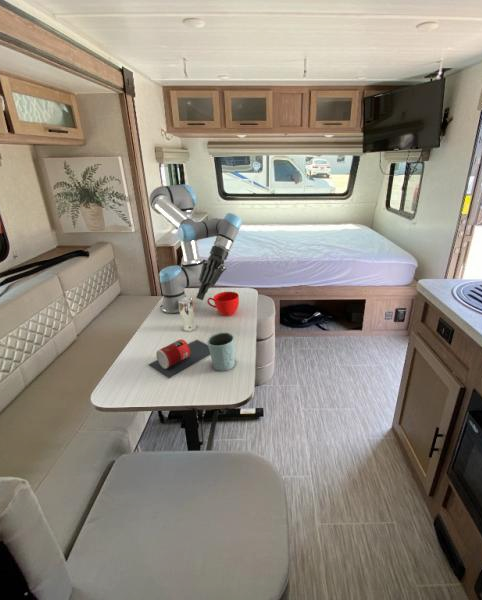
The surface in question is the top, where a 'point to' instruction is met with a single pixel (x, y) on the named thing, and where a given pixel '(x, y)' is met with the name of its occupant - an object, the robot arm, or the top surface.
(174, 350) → the canned food
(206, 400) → the top surface
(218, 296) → the ceramic cup
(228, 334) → the pale teal tumbler
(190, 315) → the beer glass
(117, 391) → the top surface
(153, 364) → the mat
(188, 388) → the top surface
